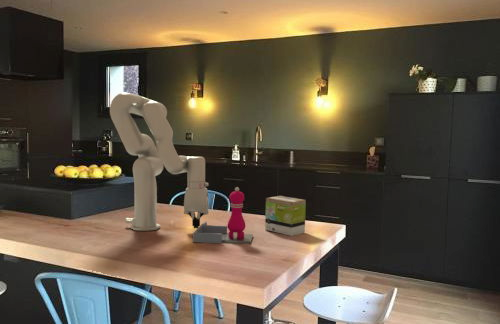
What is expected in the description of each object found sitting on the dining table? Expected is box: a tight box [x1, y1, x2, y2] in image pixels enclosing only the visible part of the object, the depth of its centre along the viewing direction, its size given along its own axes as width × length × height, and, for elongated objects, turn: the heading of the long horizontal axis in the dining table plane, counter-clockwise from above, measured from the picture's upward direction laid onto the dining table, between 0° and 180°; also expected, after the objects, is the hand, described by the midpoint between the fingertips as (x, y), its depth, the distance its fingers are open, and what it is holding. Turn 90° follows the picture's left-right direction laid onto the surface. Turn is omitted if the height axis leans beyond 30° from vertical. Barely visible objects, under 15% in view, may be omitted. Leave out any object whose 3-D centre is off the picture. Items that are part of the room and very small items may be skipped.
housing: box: [192, 221, 228, 244], centre depth 184 cm, size 11×23×4 cm, turn 175°
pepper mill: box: [226, 186, 246, 239], centre depth 178 cm, size 7×7×20 cm
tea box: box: [264, 195, 307, 237], centre depth 195 cm, size 15×10×15 cm
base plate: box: [221, 232, 254, 245], centre depth 179 cm, size 12×12×4 cm
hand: (196, 227), depth 193 cm, fingers closed
